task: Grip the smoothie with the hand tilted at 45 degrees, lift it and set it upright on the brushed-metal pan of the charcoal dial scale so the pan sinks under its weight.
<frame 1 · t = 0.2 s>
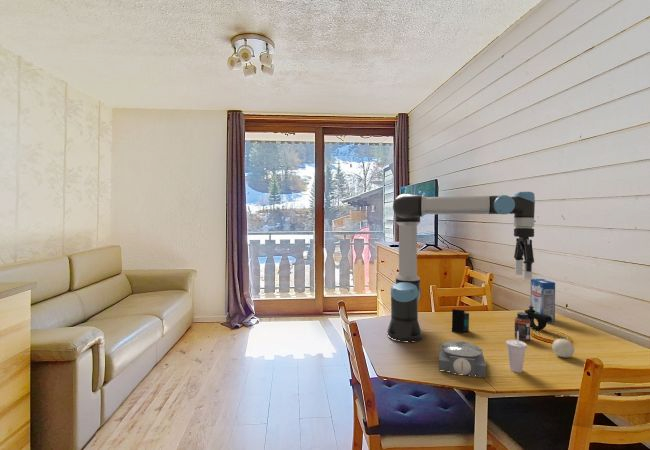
hand: (523, 277, 143), 27 cm above the table, tool pointing down, fingers open, 13 cm apart
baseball: (563, 357, 127), on the table
smoothie: (516, 370, 117), on the table
scale pan: (461, 348, 121), point 6 cm above the table, slide at 0.0 cm
supplement bottle: (522, 339, 145), on the table
controller: (537, 330, 156), on the table
speaker: (460, 330, 157), on the table
milk carton: (542, 319, 171), on the table
scale base: (461, 365, 121), on the table
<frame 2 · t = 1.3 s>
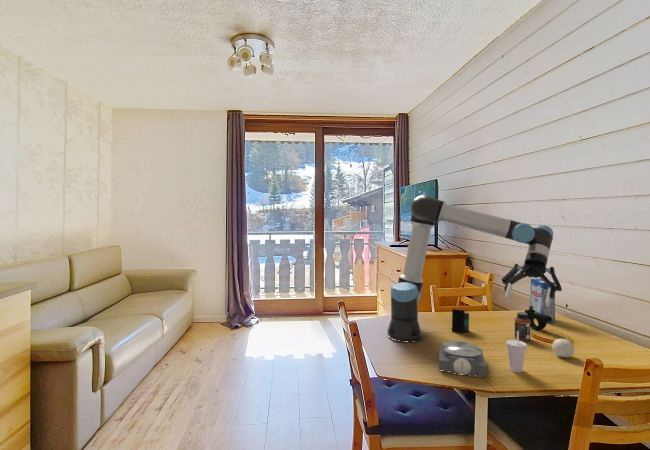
hand: (525, 301, 126), 22 cm above the table, tool tilted 45°, fingers open, 13 cm apart
nothing on the table moved.
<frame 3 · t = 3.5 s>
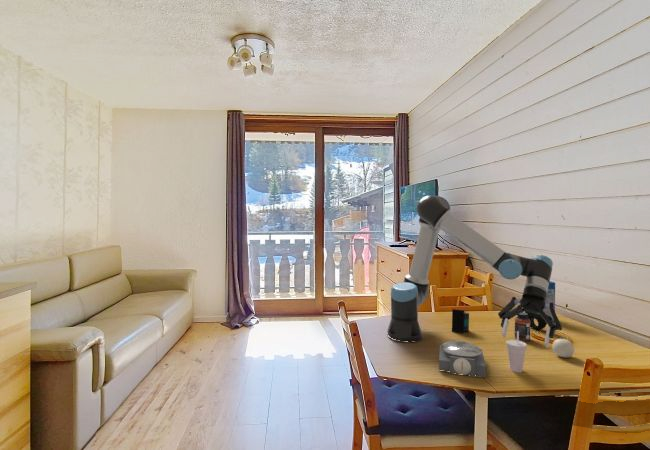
hand: (523, 340, 118), 10 cm above the table, tool tilted 45°, fingers open, 13 cm apart
nothing on the table moved.
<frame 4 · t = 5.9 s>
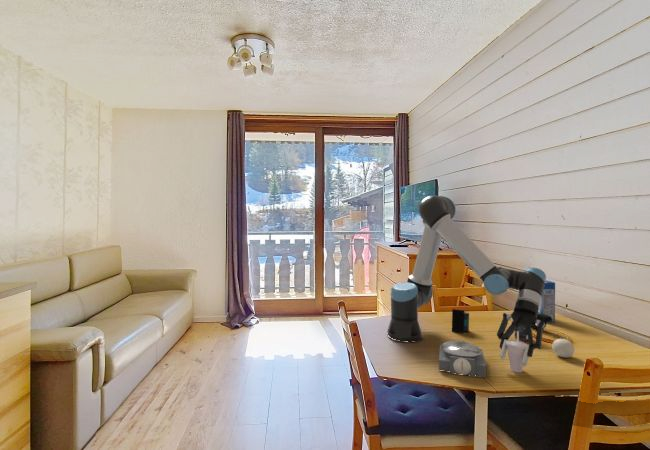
hand: (512, 360, 114), 4 cm above the table, tool tilted 45°, fingers closed on smoothie, 6 cm apart
smoothie: (516, 370, 117), on the table, touching gripper
everything else where it was.
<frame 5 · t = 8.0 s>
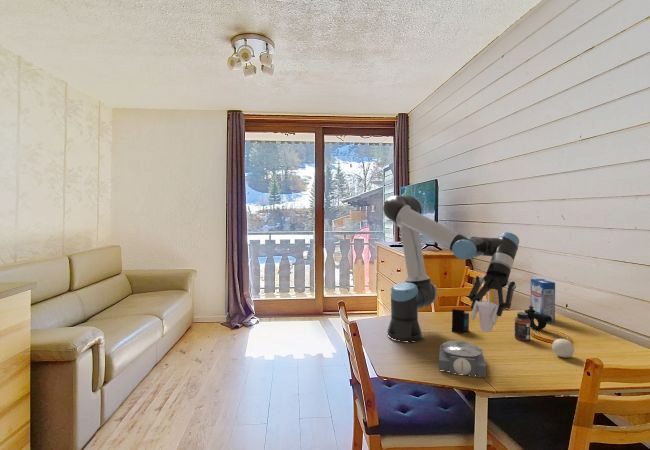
hand: (482, 320, 116), 18 cm above the table, tool tilted 45°, fingers closed on smoothie, 6 cm apart
smoothie: (486, 330, 118), point 14 cm above the table, touching gripper
everything else where it was.
when the fingers open (12 cm above the table, at t = 10.3 s): smoothie drops 2 cm, resting on scale pan.
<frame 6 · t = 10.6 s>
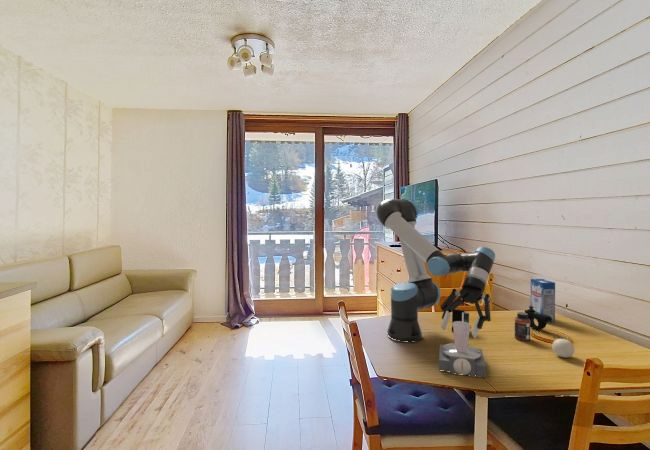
hand: (457, 331, 119), 13 cm above the table, tool tilted 45°, fingers open, 10 cm apart
smoothie: (461, 350, 121), point 5 cm above the table, touching scale pan
scale pan: (461, 351, 121), point 5 cm above the table, slide at -1.0 cm, touching smoothie
everything else where it was.
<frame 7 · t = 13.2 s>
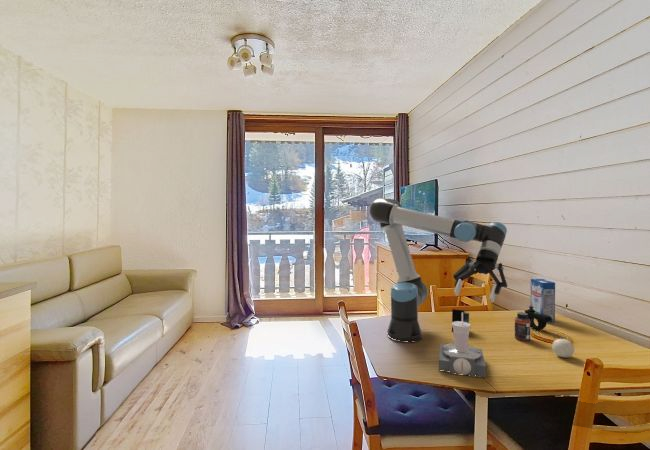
hand: (472, 297, 127), 23 cm above the table, tool tilted 45°, fingers open, 13 cm apart
nothing on the table moved.
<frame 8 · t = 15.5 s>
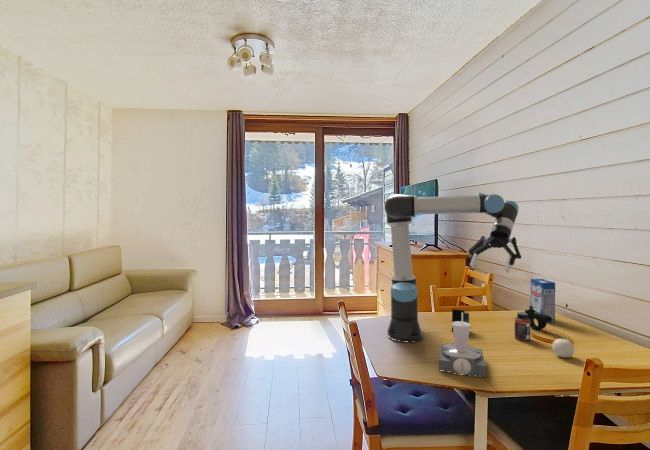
hand: (488, 268, 135), 33 cm above the table, tool tilted 45°, fingers open, 13 cm apart
nothing on the table moved.
at the end: smoothie inside the target area on the scale base (0.1 cm from its centre), point 5.3 cm above the scale base's base; smoothie tilted 0°; scale pan slide at -1.0 cm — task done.
